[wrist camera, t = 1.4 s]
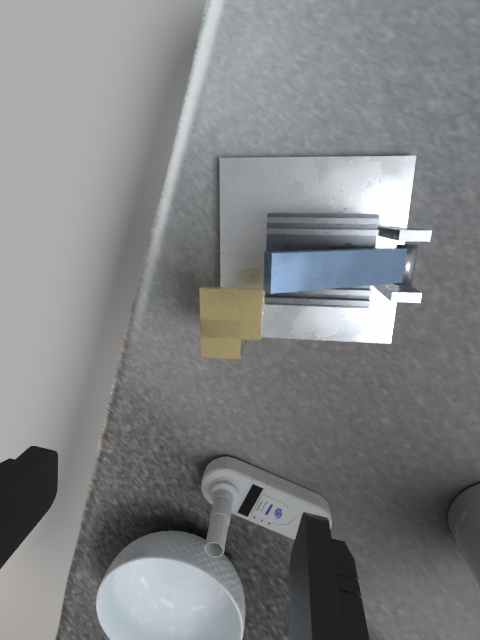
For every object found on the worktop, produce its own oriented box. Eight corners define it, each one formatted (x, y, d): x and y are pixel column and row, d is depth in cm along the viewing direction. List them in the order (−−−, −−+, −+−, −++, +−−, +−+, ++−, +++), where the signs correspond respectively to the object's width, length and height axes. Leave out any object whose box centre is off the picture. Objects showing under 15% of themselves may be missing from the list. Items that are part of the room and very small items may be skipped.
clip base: (412, 157, 30) (454, 137, 22) (388, 340, 34) (416, 376, 27) (221, 159, 32) (200, 142, 24) (222, 331, 36) (204, 363, 29)
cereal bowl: (252, 617, 47) (246, 684, 40) (131, 604, 49) (106, 666, 42) (247, 511, 42) (239, 567, 35) (114, 502, 44) (82, 554, 38)
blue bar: (406, 243, 26) (422, 245, 25) (401, 281, 27) (416, 285, 26) (263, 248, 22) (273, 250, 21) (261, 293, 23) (271, 297, 22)
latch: (268, 272, 33) (262, 290, 25) (266, 327, 34) (260, 360, 27) (220, 271, 33) (199, 288, 26) (220, 325, 35) (201, 357, 27)
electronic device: (326, 621, 33) (176, 558, 32) (315, 530, 42) (198, 481, 42) (355, 583, 31) (196, 516, 31) (337, 498, 41) (215, 446, 40)
